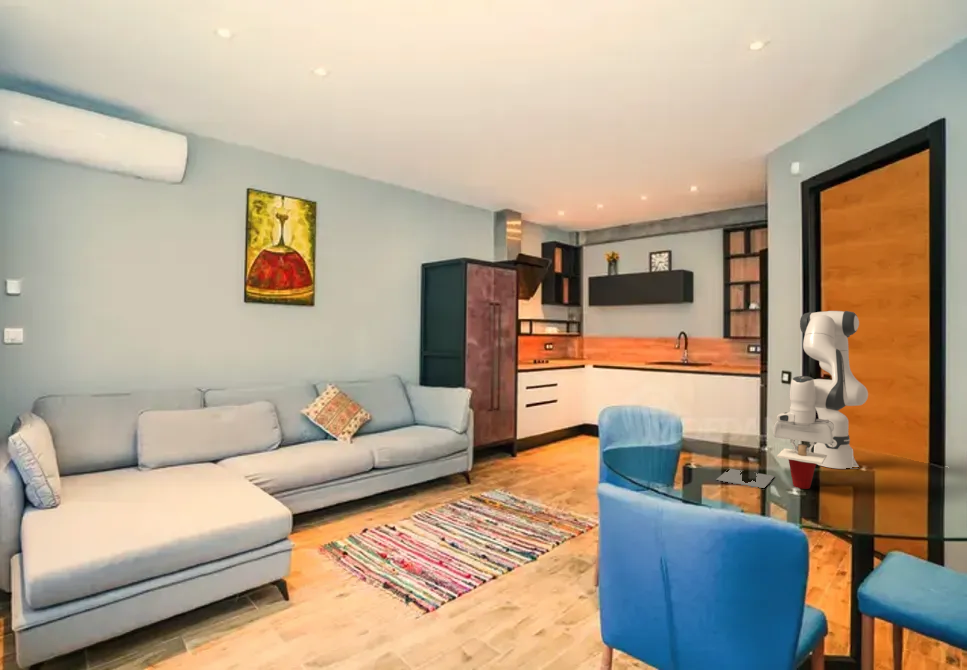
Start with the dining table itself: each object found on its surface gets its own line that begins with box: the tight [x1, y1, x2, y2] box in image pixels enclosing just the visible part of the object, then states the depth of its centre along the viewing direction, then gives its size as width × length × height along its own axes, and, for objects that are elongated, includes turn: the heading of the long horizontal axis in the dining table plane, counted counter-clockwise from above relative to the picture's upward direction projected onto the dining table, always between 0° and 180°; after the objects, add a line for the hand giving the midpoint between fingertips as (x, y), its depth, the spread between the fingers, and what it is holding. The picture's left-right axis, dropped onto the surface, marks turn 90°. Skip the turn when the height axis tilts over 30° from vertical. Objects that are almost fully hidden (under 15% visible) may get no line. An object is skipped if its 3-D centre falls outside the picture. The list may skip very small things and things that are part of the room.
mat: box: [715, 468, 776, 489], centre depth 217 cm, size 20×18×1 cm
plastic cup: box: [787, 459, 817, 490], centre depth 206 cm, size 11×11×12 cm
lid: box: [776, 443, 827, 466], centre depth 206 cm, size 15×15×5 cm
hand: (802, 451), depth 206 cm, fingers closed on lid, 3 cm apart
